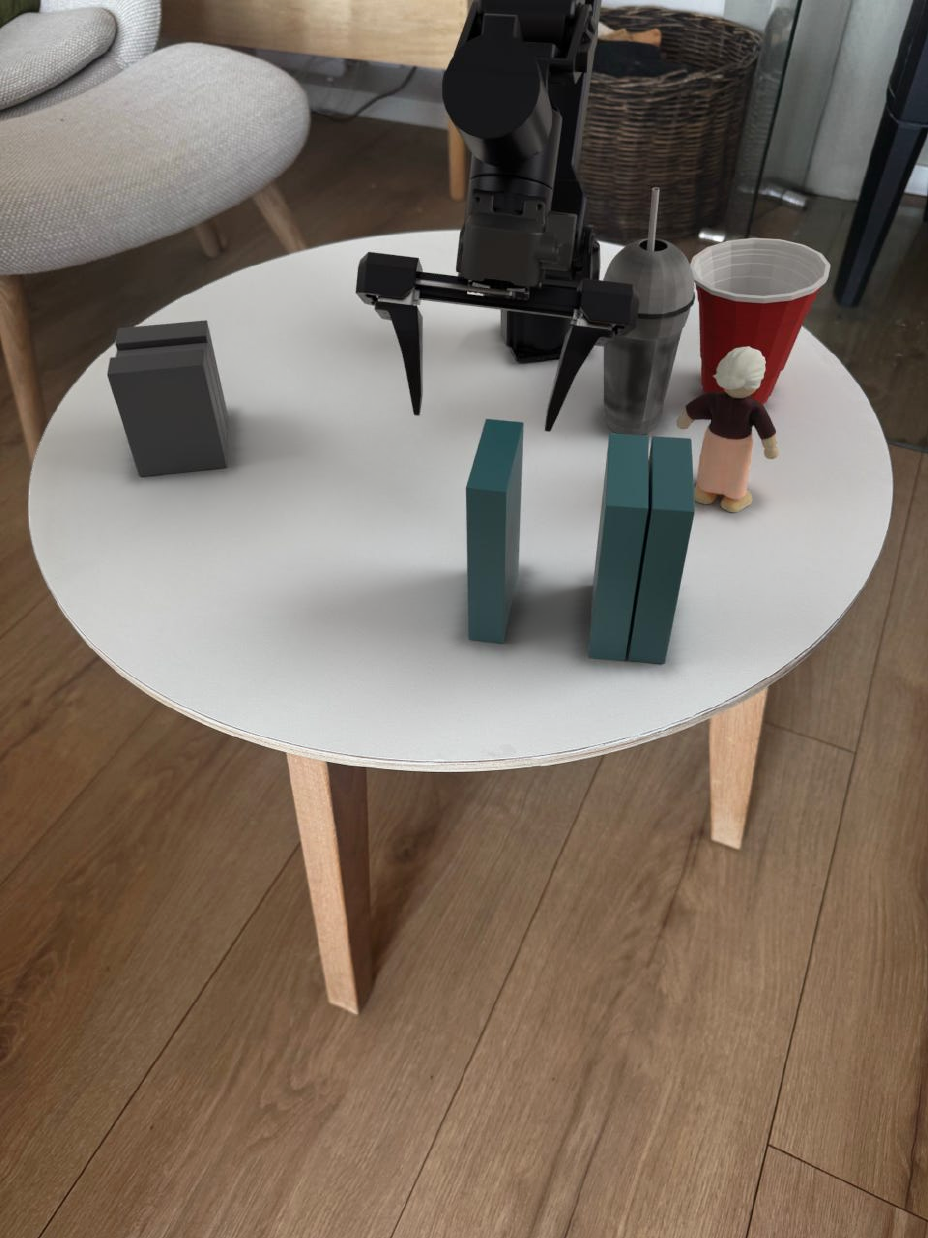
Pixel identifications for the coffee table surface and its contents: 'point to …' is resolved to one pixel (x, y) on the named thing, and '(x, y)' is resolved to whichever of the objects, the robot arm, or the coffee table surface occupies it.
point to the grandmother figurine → (731, 430)
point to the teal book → (493, 529)
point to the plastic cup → (754, 302)
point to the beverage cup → (646, 330)
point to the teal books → (641, 546)
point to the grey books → (170, 397)
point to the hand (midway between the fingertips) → (482, 423)
